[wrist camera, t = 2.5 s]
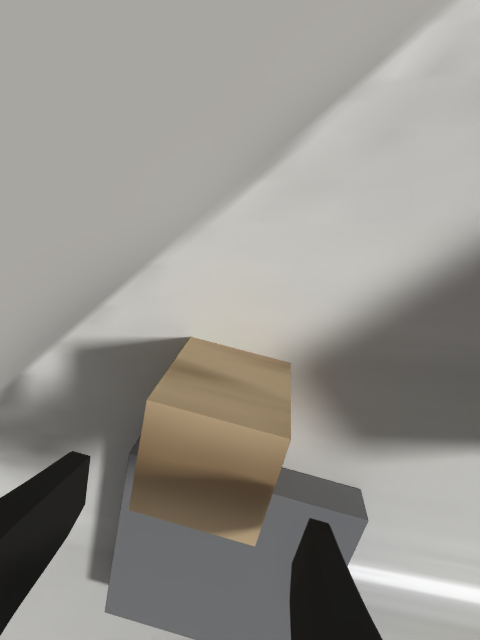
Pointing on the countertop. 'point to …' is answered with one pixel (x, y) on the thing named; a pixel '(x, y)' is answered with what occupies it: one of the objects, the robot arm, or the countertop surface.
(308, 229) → the countertop surface
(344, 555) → the plate
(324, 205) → the countertop surface
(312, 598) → the robot arm
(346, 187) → the countertop surface
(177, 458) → the oak block
